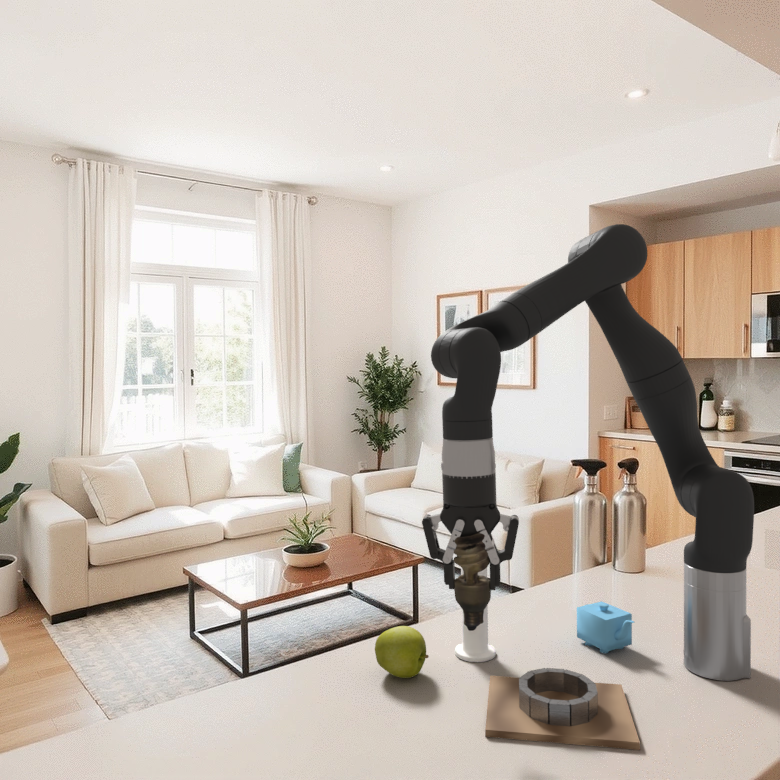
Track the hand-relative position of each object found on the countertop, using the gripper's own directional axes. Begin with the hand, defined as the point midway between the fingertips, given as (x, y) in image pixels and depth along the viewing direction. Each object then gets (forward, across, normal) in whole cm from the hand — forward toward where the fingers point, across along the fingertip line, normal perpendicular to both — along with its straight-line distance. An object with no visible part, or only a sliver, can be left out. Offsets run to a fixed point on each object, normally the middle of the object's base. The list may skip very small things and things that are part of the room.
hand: (472, 587), depth 96 cm
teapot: (+20, -22, -27) cm, 40 cm away
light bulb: (+6, 0, 0) cm, 6 cm away
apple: (+19, +12, -11) cm, 25 cm away
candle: (+19, +1, -21) cm, 29 cm away
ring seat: (+19, -12, -3) cm, 23 cm away
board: (+19, -12, -3) cm, 23 cm away
